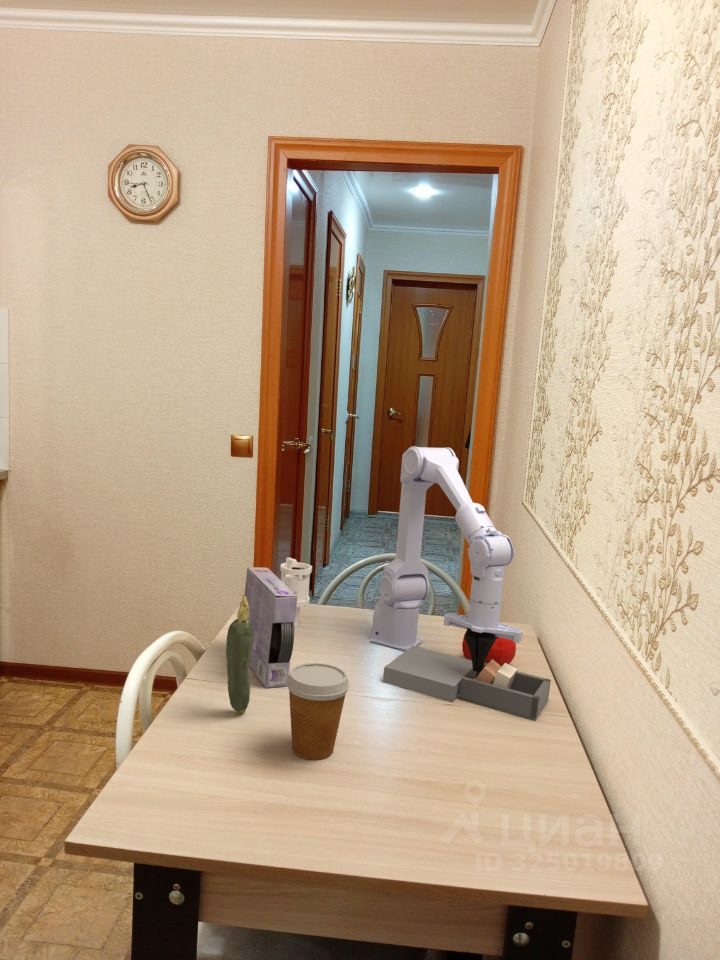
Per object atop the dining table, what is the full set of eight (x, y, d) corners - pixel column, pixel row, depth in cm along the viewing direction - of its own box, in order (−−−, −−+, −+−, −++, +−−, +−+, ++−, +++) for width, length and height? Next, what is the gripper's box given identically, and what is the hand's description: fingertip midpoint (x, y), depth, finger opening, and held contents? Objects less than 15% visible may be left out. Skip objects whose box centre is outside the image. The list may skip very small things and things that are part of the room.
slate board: (382, 681, 135) (384, 666, 134) (411, 659, 147) (413, 645, 147) (452, 702, 128) (454, 686, 128) (477, 676, 141) (478, 662, 140)
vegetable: (243, 722, 114) (250, 602, 112) (217, 718, 115) (224, 599, 113) (252, 711, 119) (260, 595, 116) (228, 706, 120) (235, 591, 117)
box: (459, 698, 130) (461, 678, 130) (476, 680, 139) (478, 661, 138) (535, 720, 124) (538, 698, 123) (548, 700, 133) (550, 679, 132)
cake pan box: (292, 689, 129) (299, 594, 126) (266, 692, 126) (272, 595, 124) (261, 649, 146) (267, 565, 143) (237, 651, 144) (242, 566, 141)
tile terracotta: (484, 667, 130) (495, 676, 129) (492, 659, 134) (503, 668, 134) (469, 686, 132) (480, 696, 131) (477, 677, 136) (488, 686, 135)
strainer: (296, 618, 166) (301, 555, 164) (313, 628, 161) (318, 563, 159) (270, 622, 162) (274, 558, 160) (287, 632, 156) (292, 566, 154)
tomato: (518, 678, 142) (523, 636, 141) (463, 673, 142) (467, 631, 141) (508, 658, 152) (512, 619, 151) (457, 653, 152) (461, 614, 151)
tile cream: (497, 671, 129) (510, 678, 128) (505, 662, 133) (517, 669, 132) (488, 695, 130) (500, 701, 129) (496, 685, 135) (508, 692, 134)
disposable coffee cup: (347, 737, 112) (353, 665, 111) (339, 769, 103) (346, 691, 101) (288, 730, 113) (293, 658, 112) (275, 761, 104) (280, 683, 102)
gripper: (441, 596, 131) (433, 666, 133) (518, 613, 125) (509, 687, 126) (454, 588, 137) (447, 655, 139) (528, 604, 131) (520, 674, 133)
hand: (477, 669), depth 133 cm, fingers closed
